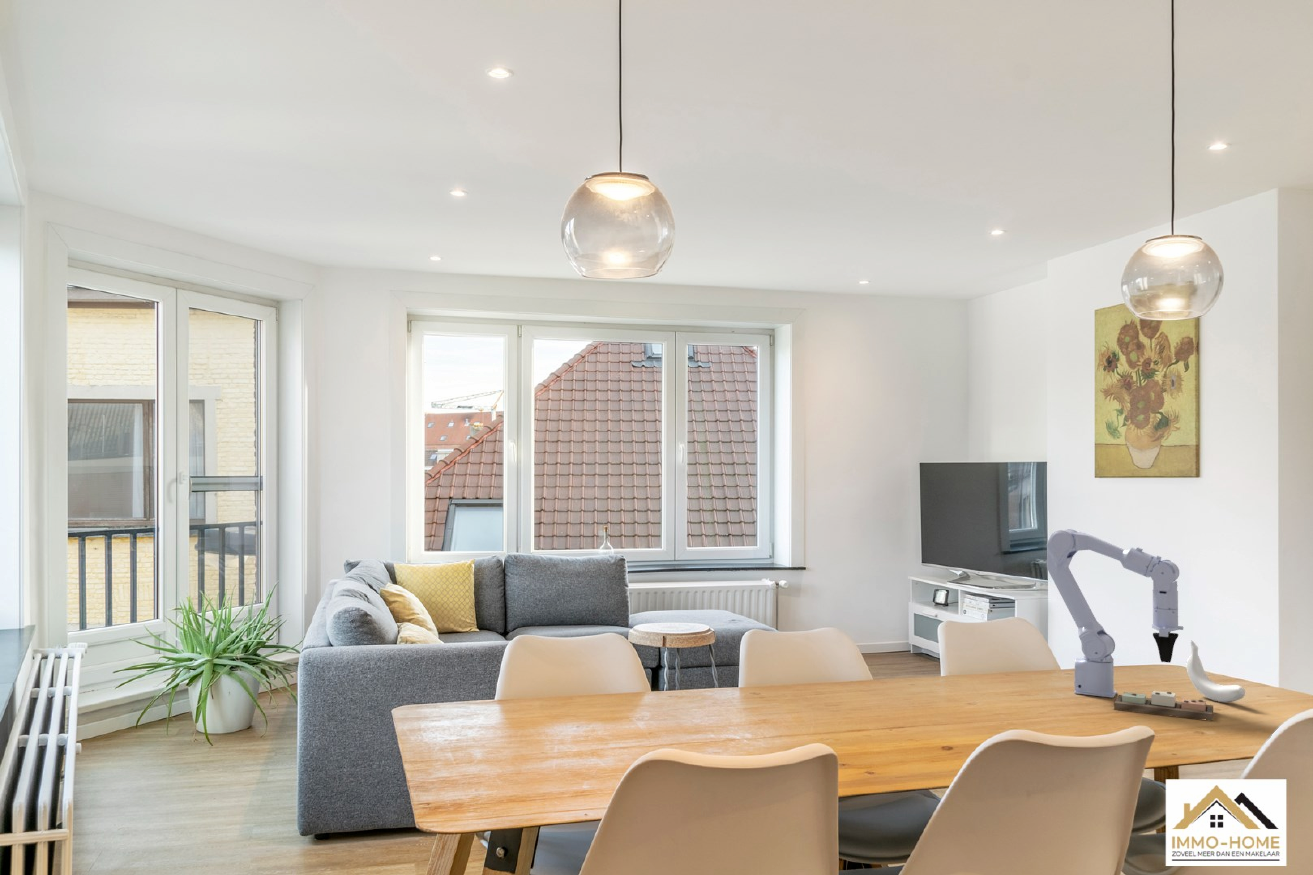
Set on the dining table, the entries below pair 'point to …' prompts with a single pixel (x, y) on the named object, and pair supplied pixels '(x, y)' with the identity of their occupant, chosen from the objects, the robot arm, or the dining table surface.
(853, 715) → the dining table surface
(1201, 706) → the tile three
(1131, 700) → the tile one
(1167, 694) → the tile two
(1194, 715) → the dice tray
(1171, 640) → the robot arm
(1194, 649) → the banana
